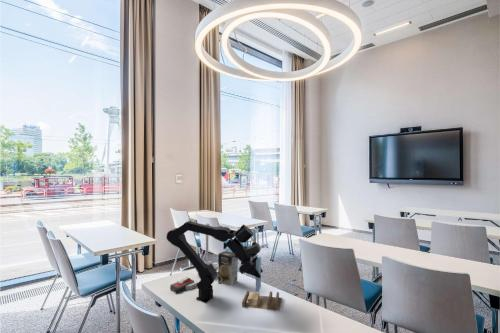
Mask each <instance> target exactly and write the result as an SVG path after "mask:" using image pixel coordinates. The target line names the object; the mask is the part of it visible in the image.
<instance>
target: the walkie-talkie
mask: <svg viewBox="0 0 500 333" xmlns="http://www.w3.org/2000/svg"><path fill="white" fill-rule="evenodd" d="M199 282H200V281H198V282H195V280H194V279H192V278H190V277H189V276H186V277H184V278H181V279H180V280H179V281H177V282H174V283H171V284H170V288H169V289H170V291H172V292H174V293H181V292H183V291H185V290H187V291H188V290H192V289H195V288H198V287H197V284H198V283H199Z"/></svg>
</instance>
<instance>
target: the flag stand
mask: <svg viewBox="0 0 500 333" xmlns="http://www.w3.org/2000/svg"><path fill="white" fill-rule="evenodd" d="M204 225H208V226H211V225H210V223H205V224H204ZM204 263H205V264H207V265H210V264H212V265H213V267H214V268H215V269H216V272H218V262H213V261H210V260H209V235H205V261H204ZM195 271H196V273H197V277H199V274H198V271H197V269H196V268H195Z"/></svg>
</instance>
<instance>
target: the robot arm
mask: <svg viewBox="0 0 500 333" xmlns="http://www.w3.org/2000/svg"><path fill="white" fill-rule="evenodd" d="M188 231H189V232H193V233H197V234H201V235H204V236H206V235H208V237H212V238H213V239H215V240H217V241H219V242H223V250H226V249H227V248H228V249H229V250H230V252H231V253H234V254H235V258H238V261H240V265H239V268H238V272H239V273H240V274H242V275H243V274H248V275H251V276H254V277H255V278H256V277H258V278H260V277H261V278H262V273H263V272H264V271H263V269H262V267H261V275H260V274H259V272H258V271H257V269H256V260H257V258H258V257H259V256H258V253H260V252H261V250H262V249H261V247H260V246H261V245H260V244H259V243H258V242H256V241H253V242H252V243H251V245H249V246H247V245H243V243H244V244H246V243H247V241H249V240H250V239H251V238H252V237H253V236H254V232H253V230H252V229H251V228H250V227H248V226H246V225H245V224H242V225H241V226H240V228H239V229H237V230H235V229H231V228H230V227H228V226H211V225H210V226H208V225H205V224H203V223H198V222H194V221H191V220H187V221H186V222H184V223H183V224H182V225H180V226H179V227H175V228H173V229H171V230H169V231H168V232H166V240H167V241H168V242H169V244H171V245H172V246H174V247H176V248H178V249H179V250H180V251H181V252H182V253H183V255H184V256H185V257H186V259H187V260H188V261H189V262H190V264H192V266H193V267H194V268H195V270H196V269H197V271H198V272H197V271H196V272H197V275H198V274H199V276H198V277H199V278H200V280H199V281H198V282H199V283H198V282H197V283H198V284H197V287H196V288H197V289H198V296H197V297H196V299H195V300H198V301H201V302H203V303H209V301H211V300H212V299H213V298H214V289H213V285H212V284H214V282H215V280H216V279H217V278H218V271H216V269H215V268H214V267H213V265H212V264H210V265H207V264H205V263H206V262H205V261H204V260H203V259H202V257H200V255H199V254H198V253H197V252H196V251H195V249H194V248H193V247H192V246H191V244H189V242H188V241H187V237H186V235H185V233H186V232H188ZM204 262H205V263H204Z"/></svg>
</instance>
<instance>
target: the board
mask: <svg viewBox="0 0 500 333" xmlns="http://www.w3.org/2000/svg"><path fill="white" fill-rule="evenodd" d="M261 268H262V256H258V258H257V260H256V269H257V271H258V272H259V274H260V275H261V277H260V278H258V277H255V292H256V293H260V289H261V288H262V280H261V279H262V273H261Z"/></svg>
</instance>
